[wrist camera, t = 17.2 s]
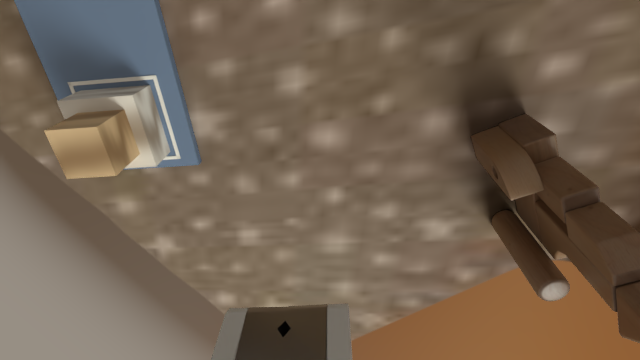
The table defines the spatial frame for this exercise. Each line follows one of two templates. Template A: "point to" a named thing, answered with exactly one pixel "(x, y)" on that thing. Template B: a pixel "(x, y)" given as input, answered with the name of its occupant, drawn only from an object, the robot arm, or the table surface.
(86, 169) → the oak cube
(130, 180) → the table surface
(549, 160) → the wooden toy
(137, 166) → the base block
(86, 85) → the board
